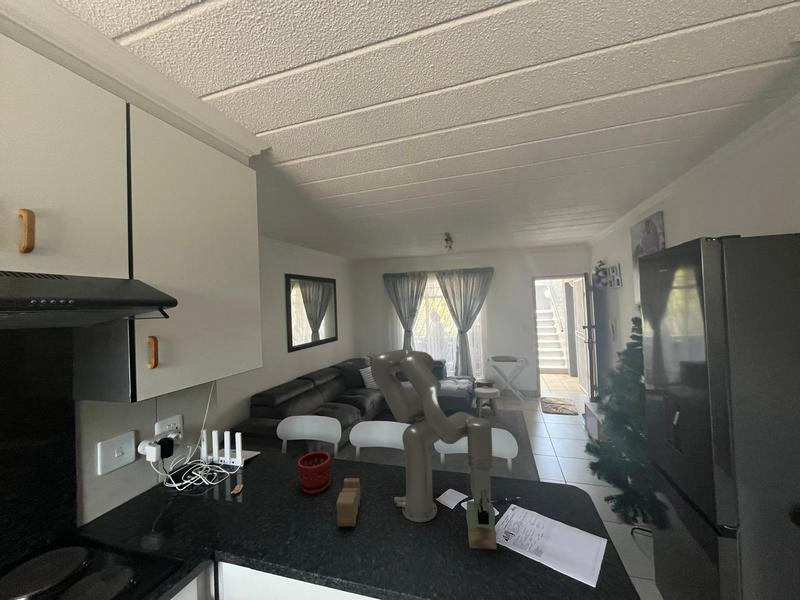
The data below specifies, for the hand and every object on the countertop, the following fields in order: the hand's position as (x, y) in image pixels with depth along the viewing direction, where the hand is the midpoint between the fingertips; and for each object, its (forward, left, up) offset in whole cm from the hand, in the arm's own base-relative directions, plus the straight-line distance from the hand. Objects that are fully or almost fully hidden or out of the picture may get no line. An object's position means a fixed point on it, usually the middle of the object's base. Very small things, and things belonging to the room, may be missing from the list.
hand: (482, 518), depth 96 cm
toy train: (-45, +10, -8) cm, 47 cm away
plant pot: (-64, +26, -8) cm, 70 cm away
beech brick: (0, 0, -8) cm, 8 cm away
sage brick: (-1, 0, -1) cm, 2 cm away
